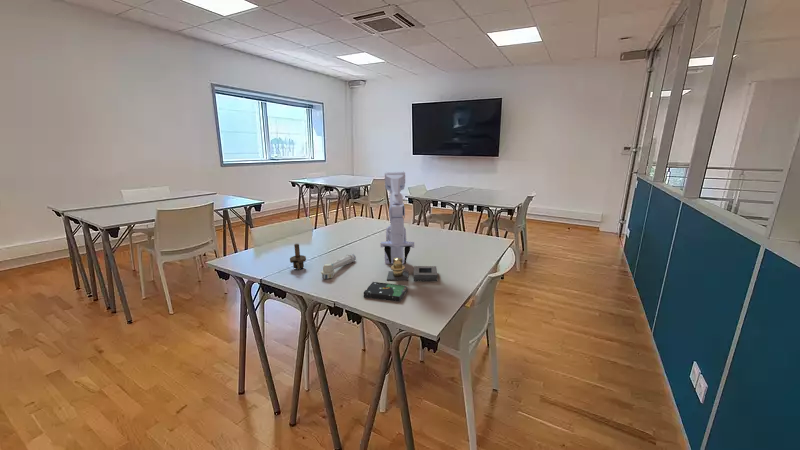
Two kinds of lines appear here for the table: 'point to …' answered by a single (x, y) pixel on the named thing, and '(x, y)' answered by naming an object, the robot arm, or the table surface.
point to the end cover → (397, 267)
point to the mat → (392, 278)
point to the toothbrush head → (336, 265)
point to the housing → (425, 273)
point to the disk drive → (385, 291)
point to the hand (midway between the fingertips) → (397, 262)
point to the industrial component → (297, 258)
